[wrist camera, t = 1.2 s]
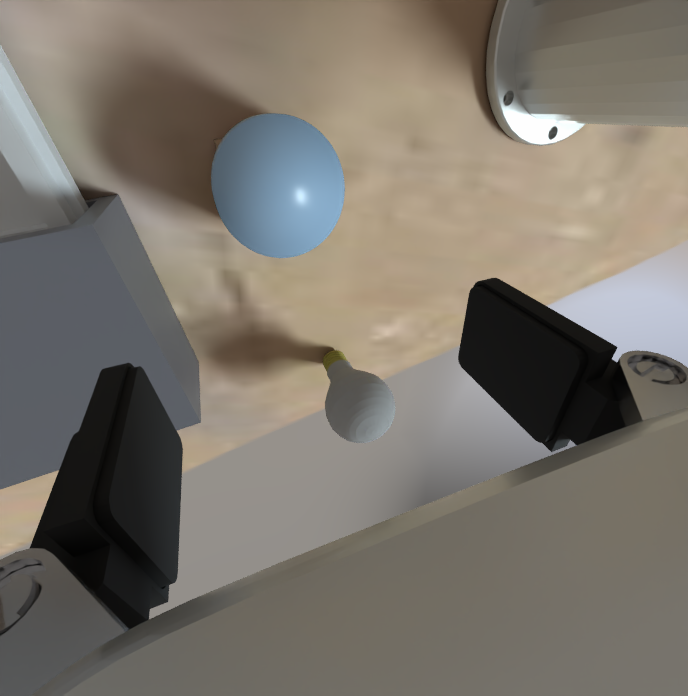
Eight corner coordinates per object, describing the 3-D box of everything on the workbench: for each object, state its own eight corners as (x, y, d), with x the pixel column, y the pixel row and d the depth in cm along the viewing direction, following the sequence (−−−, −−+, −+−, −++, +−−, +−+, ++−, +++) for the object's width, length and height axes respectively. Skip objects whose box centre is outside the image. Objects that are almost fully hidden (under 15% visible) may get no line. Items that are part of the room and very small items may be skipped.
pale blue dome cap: (279, 78, 17) (286, 76, 16) (356, 195, 21) (367, 200, 20) (181, 179, 18) (180, 184, 16) (274, 271, 22) (279, 281, 21)
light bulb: (296, 343, 30) (332, 422, 23) (353, 323, 31) (406, 392, 24) (310, 386, 34) (345, 468, 26) (360, 367, 35) (409, 440, 27)
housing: (118, 194, 20) (92, 224, 15) (198, 362, 28) (200, 422, 23) (-205, 254, 17) (-386, 320, 12) (-13, 425, 25) (-68, 512, 20)
